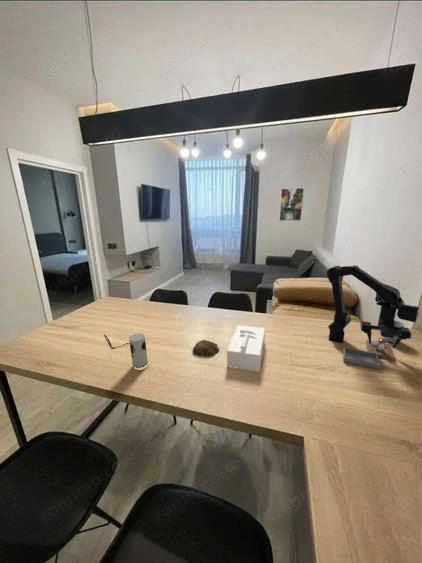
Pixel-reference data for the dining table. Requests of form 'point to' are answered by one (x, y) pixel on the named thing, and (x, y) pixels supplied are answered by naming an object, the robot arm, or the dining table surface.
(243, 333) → the white rectangular block
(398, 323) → the cup
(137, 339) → the grey cylinder
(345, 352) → the tray
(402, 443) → the dining table surface
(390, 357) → the block
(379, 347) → the lock pin
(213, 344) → the dark brown rock
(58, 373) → the dining table surface
